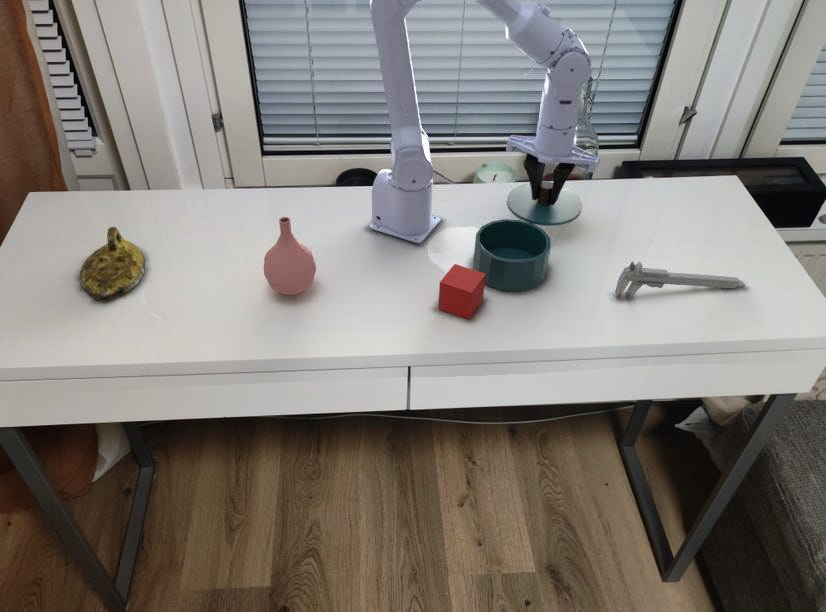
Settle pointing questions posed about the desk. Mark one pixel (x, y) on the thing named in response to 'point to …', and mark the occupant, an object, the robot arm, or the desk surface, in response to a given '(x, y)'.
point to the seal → (112, 268)
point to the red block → (461, 291)
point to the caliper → (668, 279)
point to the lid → (544, 205)
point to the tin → (511, 254)
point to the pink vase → (289, 263)
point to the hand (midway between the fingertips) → (544, 199)
